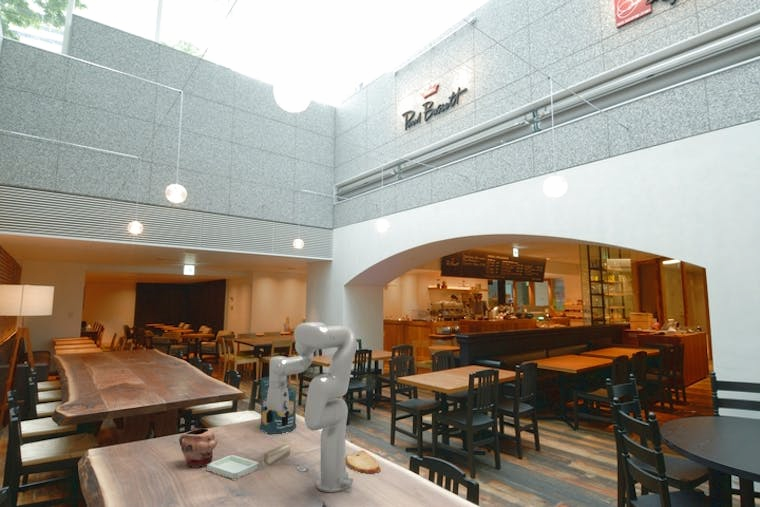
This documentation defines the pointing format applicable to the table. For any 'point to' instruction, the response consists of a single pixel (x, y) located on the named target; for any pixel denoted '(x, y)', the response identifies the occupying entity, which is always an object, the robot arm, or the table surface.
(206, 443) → the decorative planter
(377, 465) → the tan flat crusted slab
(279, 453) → the birch block
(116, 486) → the table surface
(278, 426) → the donation box
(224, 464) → the tray
